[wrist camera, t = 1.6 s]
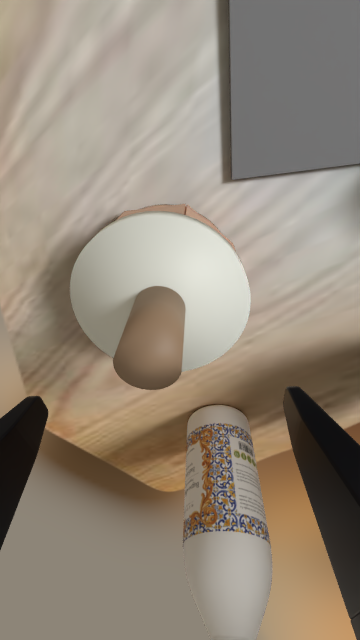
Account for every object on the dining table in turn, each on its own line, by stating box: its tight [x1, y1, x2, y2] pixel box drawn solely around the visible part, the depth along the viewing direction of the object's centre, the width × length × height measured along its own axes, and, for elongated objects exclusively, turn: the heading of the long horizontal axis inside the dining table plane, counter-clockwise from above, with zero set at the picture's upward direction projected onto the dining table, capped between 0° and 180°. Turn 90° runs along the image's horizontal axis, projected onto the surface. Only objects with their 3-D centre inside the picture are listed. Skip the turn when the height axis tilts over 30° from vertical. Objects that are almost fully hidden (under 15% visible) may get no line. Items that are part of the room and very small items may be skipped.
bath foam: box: [183, 405, 272, 640], centre depth 23 cm, size 7×7×20 cm
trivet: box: [229, 0, 360, 180], centre depth 13 cm, size 12×12×1 cm
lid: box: [70, 211, 251, 390], centre depth 15 cm, size 11×11×6 cm
